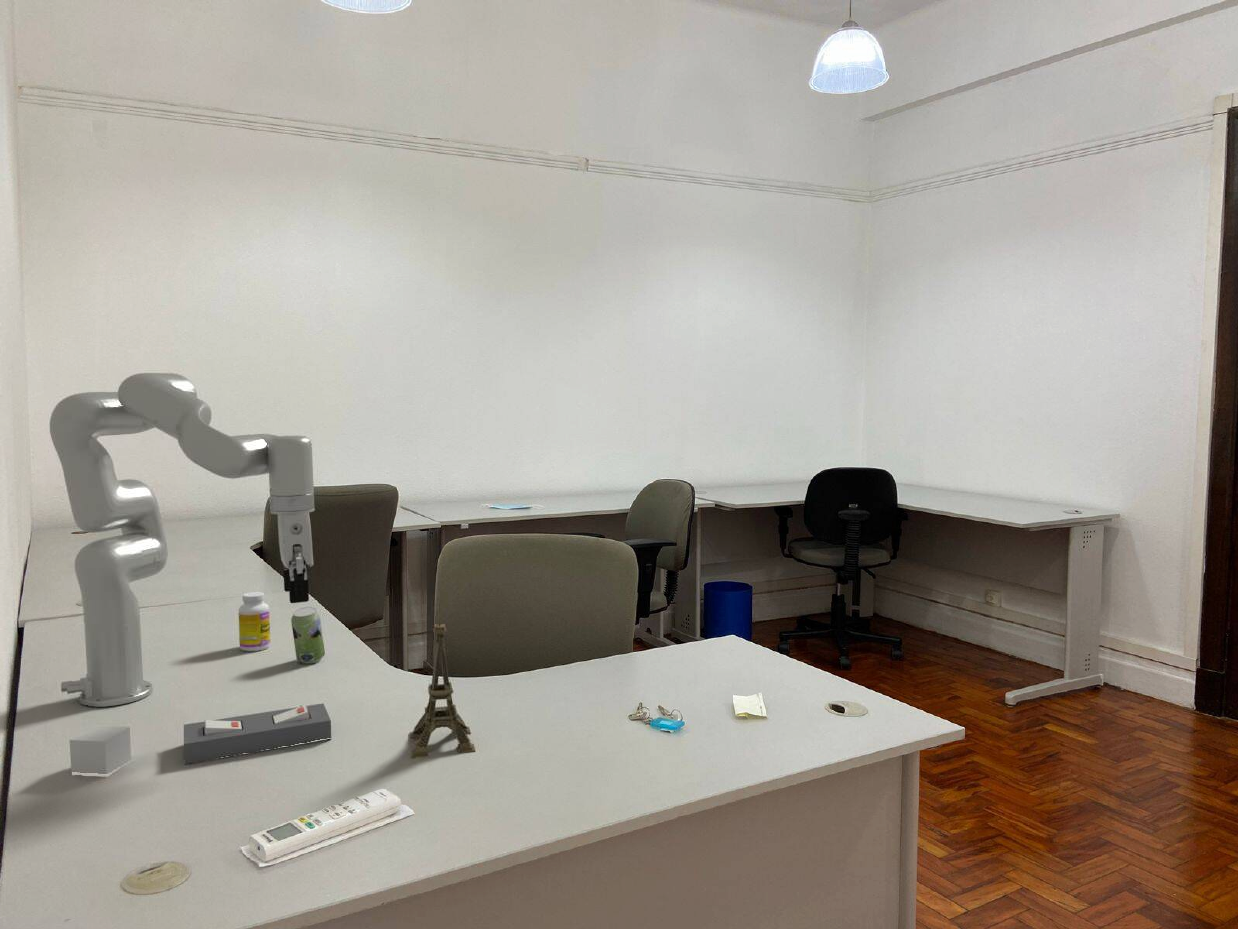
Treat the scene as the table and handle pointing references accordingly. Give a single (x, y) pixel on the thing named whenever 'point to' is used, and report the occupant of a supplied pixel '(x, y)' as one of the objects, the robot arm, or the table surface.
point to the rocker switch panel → (255, 734)
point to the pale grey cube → (100, 749)
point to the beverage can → (307, 635)
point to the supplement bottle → (254, 623)
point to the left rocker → (221, 726)
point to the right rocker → (292, 715)
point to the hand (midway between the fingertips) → (296, 596)
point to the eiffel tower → (440, 715)
